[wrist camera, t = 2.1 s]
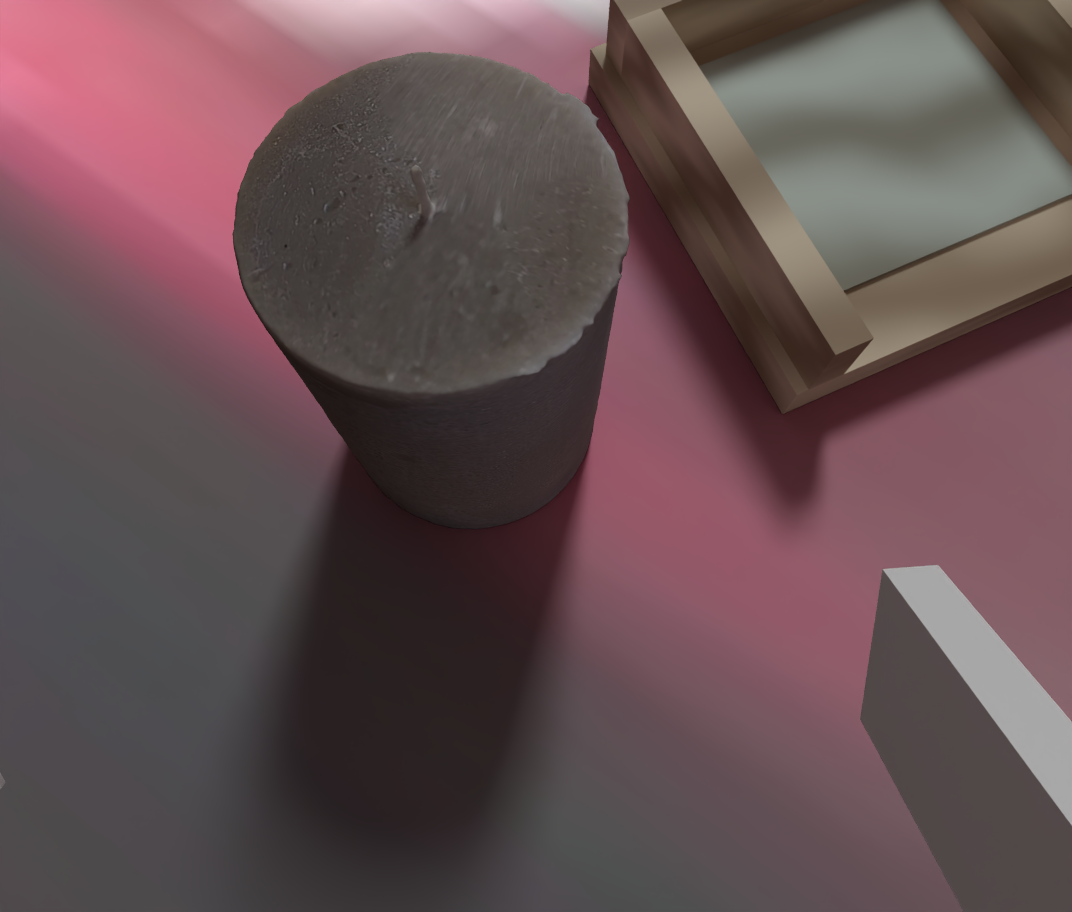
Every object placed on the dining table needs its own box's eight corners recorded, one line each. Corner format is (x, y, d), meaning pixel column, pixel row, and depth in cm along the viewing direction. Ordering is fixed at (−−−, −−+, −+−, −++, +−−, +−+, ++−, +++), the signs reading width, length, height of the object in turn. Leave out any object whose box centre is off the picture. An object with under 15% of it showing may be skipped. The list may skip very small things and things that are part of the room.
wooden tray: (588, 83, 37) (593, -11, 32) (923, -43, 39) (974, -149, 34) (782, 414, 32) (822, 360, 27) (1157, 249, 34) (1256, 172, 29)
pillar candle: (305, 418, 32) (113, 186, 18) (476, 261, 34) (426, -59, 20) (478, 584, 30) (416, 472, 16) (648, 407, 32) (731, 165, 18)
